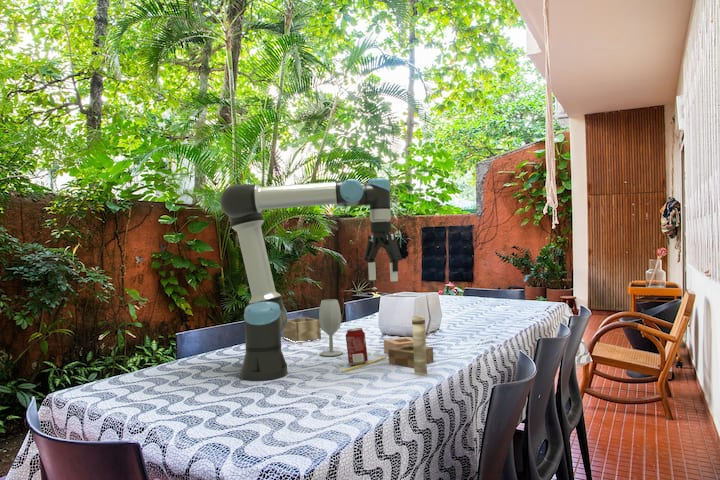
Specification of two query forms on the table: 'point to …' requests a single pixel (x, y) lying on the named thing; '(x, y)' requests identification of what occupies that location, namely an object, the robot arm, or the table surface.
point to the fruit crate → (302, 329)
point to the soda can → (356, 346)
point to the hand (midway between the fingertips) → (382, 280)
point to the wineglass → (330, 323)
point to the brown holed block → (407, 355)
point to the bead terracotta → (396, 343)
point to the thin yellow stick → (363, 364)
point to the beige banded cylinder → (419, 345)
